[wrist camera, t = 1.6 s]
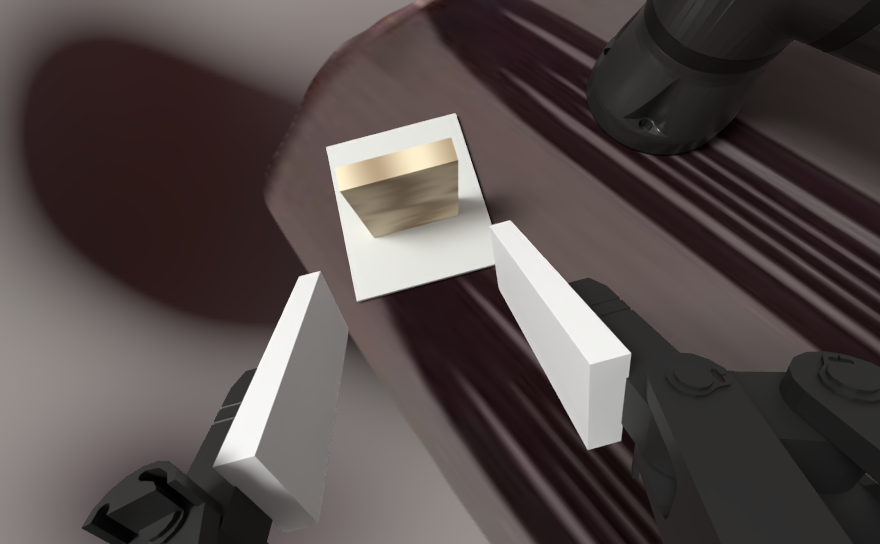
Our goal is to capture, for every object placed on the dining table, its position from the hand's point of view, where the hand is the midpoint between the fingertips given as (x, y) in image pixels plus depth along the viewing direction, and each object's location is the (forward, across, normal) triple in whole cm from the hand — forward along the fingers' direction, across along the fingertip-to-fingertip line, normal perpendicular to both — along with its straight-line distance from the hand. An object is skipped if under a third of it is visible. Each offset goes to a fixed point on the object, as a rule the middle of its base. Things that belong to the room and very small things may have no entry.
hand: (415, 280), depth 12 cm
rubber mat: (+24, 0, -5) cm, 24 cm away
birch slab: (+22, 0, -6) cm, 23 cm away
